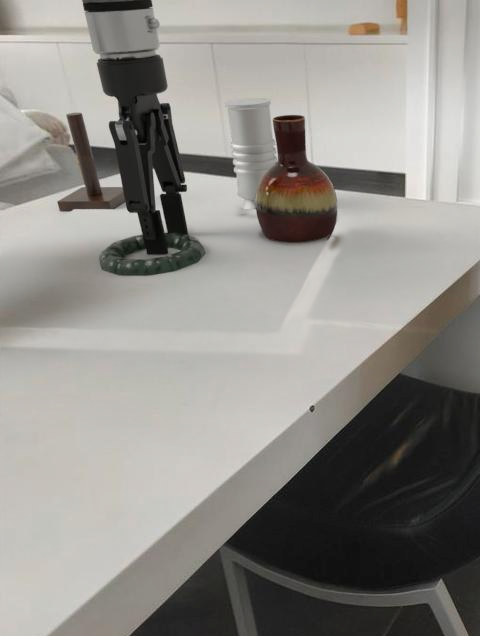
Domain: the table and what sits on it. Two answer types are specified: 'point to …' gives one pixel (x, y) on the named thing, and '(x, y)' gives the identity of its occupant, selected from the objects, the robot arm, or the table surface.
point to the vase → (295, 190)
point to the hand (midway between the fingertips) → (170, 251)
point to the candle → (251, 144)
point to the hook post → (88, 175)
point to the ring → (117, 264)
